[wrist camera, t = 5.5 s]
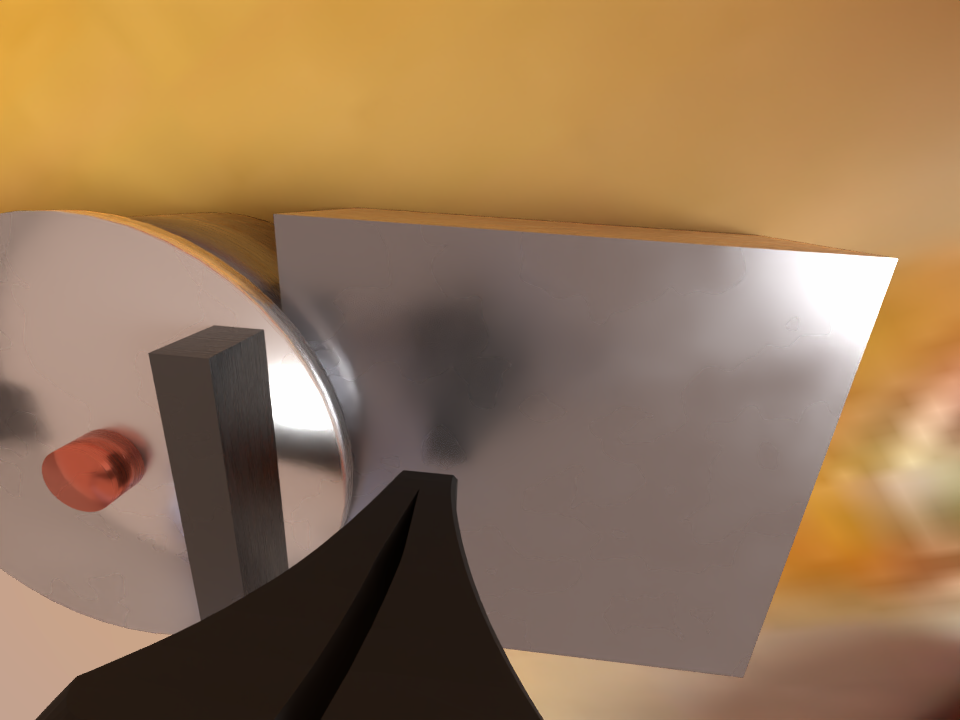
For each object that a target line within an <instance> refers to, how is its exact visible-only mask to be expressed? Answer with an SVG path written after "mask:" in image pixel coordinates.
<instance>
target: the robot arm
mask: <svg viewBox="0 0 960 720" xmlns="http://www.w3.org/2000/svg"><path fill="white" fill-rule="evenodd" d="M457 487H458V479H457V478H456V477H455V476H454V475H449V474H439V473H428V472H418V471H408V470H403V471H402V472H401V473H399V474H398V475H397V476H396V477H395V478H394V479H393V480H392V481H391V482H390V483H389V484H388V485H387V486H386V487H385V488H384V489H383V490H382V491H381V492H380V493H379V494H378V495H377V496H376V497H375V498H374V499H373V500H372V501H371V502H370V503H369V504H368V505H367V506H366V507H365V508H363V509H362V510H361V511H360V512H359V513H358V514H357V515H356V516H355V517H354V518H353V519H351V520H350V521H349V522H348V523H347V524H346V525H345V526H344V527H342V528H341V529H340V530H339V531H337V532H336V533H335V534H334V535H333V536H331V537H330V538H329V539H328V540H327V541H325V542H324V543H323V544H322V545H321V546H319V547H318V548H317V549H315V550H314V551H313V552H311V553H310V554H309V555H307V556H306V557H305V558H303V559H302V560H301V561H299V562H298V563H297V564H295V565H294V566H292V567H291V568H289V569H288V570H286V571H285V572H284V573H282V574H281V575H279V576H277V577H276V578H274V579H273V580H271V581H269V582H268V583H266V584H264V585H263V586H261V587H259V588H258V589H256V590H254V591H253V592H251V593H249V594H248V595H246V596H244V597H243V598H241V599H239V600H238V601H236V602H234V603H233V604H231V605H229V606H227V607H226V608H224V609H222V610H220V611H218V612H216V613H214V614H212V615H211V616H209V617H207V618H205V619H203V620H201V621H199V622H197V623H195V624H193V625H191V626H189V627H187V628H185V629H183V630H181V631H179V632H177V633H175V634H173V635H171V636H169V637H167V638H165V639H163V640H160V641H158V642H156V643H154V644H152V645H150V646H147V647H145V648H143V649H140V650H138V651H136V652H133V653H131V654H129V655H126V656H124V657H122V658H120V659H117V660H115V661H113V662H110V663H108V664H106V665H104V666H101V667H99V668H96V669H94V670H92V671H89V672H87V673H84V674H82V675H79V676H77V677H76V678H75V679H74V680H73V681H72V682H71V683H70V684H69V685H68V686H67V687H66V688H65V689H64V690H63V691H62V692H61V693H60V694H59V695H58V696H57V697H56V698H55V700H53V701H52V702H51V704H50V705H49V706H48V707H47V708H46V709H45V710H44V711H43V712H42V713H41V714H40V715H39V717H38V718H37V719H36V720H544V719H543V718H542V716H541V715H540V713H539V712H538V710H537V708H536V707H535V705H534V703H533V702H532V700H531V699H530V697H529V695H528V694H527V692H526V690H525V689H524V687H523V685H522V683H521V681H520V680H519V678H518V676H517V674H516V673H515V671H514V669H513V667H512V665H511V664H510V662H509V660H508V658H507V656H506V654H505V652H504V650H503V647H502V645H501V643H500V641H499V639H498V637H497V635H496V633H495V631H494V629H493V627H492V625H491V623H490V621H489V618H488V616H487V614H486V611H485V609H484V606H483V604H482V602H481V599H480V596H479V594H478V591H477V588H476V586H475V583H474V580H473V577H472V574H471V571H470V568H469V564H468V561H467V557H466V554H465V550H464V546H463V542H462V538H461V533H460V528H459V523H458V517H457Z"/></svg>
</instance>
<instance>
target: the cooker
mask: <svg viewBox="0 0 960 720" xmlns="http://www.w3.org/2000/svg"><path fill="white" fill-rule="evenodd" d="M273 215H274V224H272V223H270V222H267V221H264V220H260V219H257V218H253V217H250V216H246V215H239V214H232V213H189V214H170V215H151V216H133V217H126V218H130V219H133V220H137V221H140V222H144V223H148V224H151V225H153V226H156V227H158V228H161V229H163V230H165V231H168V232H170V233H173V234H175V235H177V236H180V237H182V238H185V239H186V240H188V241H190V242H192V243H194V244H195V245H197V246H199V247H201V248H203V249H204V250H206V251H208V252H210V253H211V254H213V255H215V256H217V257H218V258H220V259H221V260H222V261H224V262H225V263H227V264H228V265H229V266H231V267H232V268H234V269H235V270H236V271H238V272H239V273H241V274H242V275H243V276H245V277H246V278H247V279H248V280H250V281H251V282H252V283H253V284H254V285H255V286H256V287H257V288H259V289H260V290H261V291H262V292H263V293H264V294H265V295H266V296H267V297H269V298H270V299H271V300H272V301H273V302H274V303H275V304H276V305H277V306H278V307H279V309H280V310H281V311H282V312H283V313H284V314H285V315H286V316H287V317H288V319H289V320H290V321H291V322H292V323H293V324H294V325H295V326H296V328H297V329H298V330H299V332H300V333H301V334H302V336H303V337H304V339H305V340H306V341H307V343H308V344H309V346H310V347H311V348H312V350H313V351H314V353H315V354H316V355H317V357H318V359H319V361H320V363H321V364H322V366H323V368H324V370H325V372H326V373H327V375H328V377H329V379H330V381H331V383H332V384H333V387H334V389H335V392H336V394H337V397H338V399H339V402H340V404H341V407H342V409H343V412H344V416H345V420H346V423H347V427H348V431H349V435H350V439H351V447H352V456H353V465H354V472H353V493H352V498H351V503H350V508H349V513H348V516H347V519H346V522H345V524H344V526H345V525H346V524H347V523H348V522H349V521H350V520H351V519H353V518H354V517H355V516H356V515H357V514H358V513H359V512H360V511H361V510H362V509H363V508H365V507H366V506H367V505H368V504H369V503H370V502H371V501H372V500H373V499H374V498H375V497H376V496H377V495H378V494H379V493H380V492H381V491H382V490H383V489H384V488H385V487H386V486H387V485H388V484H389V483H390V482H391V481H392V480H393V479H394V478H395V477H396V476H397V475H398V474H399V473H401V472H402V471H403V470H408V471H418V472H428V473H439V474H449V475H454V476H455V477H456V478H457V479H458V487H457V517H458V523H459V528H460V533H461V538H462V542H463V546H464V550H465V554H466V557H467V561H468V564H469V568H470V571H471V574H472V577H473V580H474V583H475V586H476V588H477V591H478V594H479V596H480V599H481V602H482V604H483V606H484V609H485V611H486V614H487V616H488V618H489V621H490V623H491V625H492V627H493V629H494V631H495V633H496V635H497V637H498V639H499V641H500V643H501V645H502V647H503V648H506V649H514V650H523V651H531V652H539V653H547V654H555V655H563V656H571V657H579V658H587V659H596V660H604V661H612V662H620V663H628V664H636V665H644V666H652V667H660V668H669V669H677V670H685V671H693V672H701V673H709V674H717V675H725V676H733V677H742V678H743V676H744V674H745V671H746V668H747V666H748V663H749V660H750V657H751V655H752V652H753V649H754V647H755V644H756V641H757V639H758V636H759V633H760V630H761V628H762V625H763V622H764V620H765V617H766V614H767V612H768V609H769V606H770V603H771V601H772V598H773V595H774V593H775V590H776V587H777V585H778V582H779V579H780V576H781V574H782V571H783V568H784V566H785V563H786V560H787V558H788V555H789V552H790V549H791V547H792V544H793V541H794V539H795V536H796V533H797V531H798V528H799V525H800V522H801V520H802V517H803V514H804V512H805V509H806V506H807V504H808V501H809V498H810V495H811V493H812V490H813V487H814V485H815V482H816V479H817V477H818V474H819V471H820V468H821V466H822V463H823V460H824V458H825V455H826V452H827V450H828V447H829V444H830V441H831V439H832V436H833V433H834V431H835V428H836V425H837V423H838V420H839V417H840V415H841V412H842V409H843V406H844V404H845V401H846V398H847V396H848V393H849V390H850V388H851V385H852V382H853V379H854V377H855V374H856V371H857V369H858V366H859V363H860V361H861V358H862V355H863V352H864V350H865V347H866V344H867V342H868V339H869V336H870V334H871V331H872V328H873V325H874V323H875V320H876V317H877V315H878V312H879V309H880V307H881V304H882V301H883V298H884V296H885V293H886V290H887V288H888V285H889V282H890V280H891V277H892V274H893V271H894V269H895V266H896V263H897V261H898V258H893V257H887V256H881V255H875V254H869V253H863V252H857V251H851V250H845V249H839V248H832V247H826V246H820V245H814V244H808V243H802V242H796V241H790V240H784V239H778V238H772V237H766V236H758V235H744V234H730V233H715V232H701V231H687V230H672V229H658V228H644V227H629V226H615V225H601V224H586V223H572V222H558V221H543V220H529V219H515V218H500V217H486V216H472V215H457V214H443V213H429V212H414V211H400V210H385V209H371V208H346V209H333V210H319V211H306V212H292V213H278V214H273Z"/></svg>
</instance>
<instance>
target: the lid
mask: <svg viewBox="0 0 960 720" xmlns="http://www.w3.org/2000/svg"><path fill="white" fill-rule="evenodd" d="M353 472H354V465H353V456H352V447H351V439H350V435H349V431H348V427H347V423H346V420H345V416H344V412H343V409H342V407H341V404H340V402H339V399H338V397H337V394H336V392H335V389H334V387H333V384H332V383H331V381H330V379H329V377H328V375H327V373H326V372H325V370H324V368H323V366H322V364H321V363H320V361H319V359H318V357H317V355H316V354H315V353H314V351H313V350H312V348H311V347H310V346H309V344H308V343H307V341H306V340H305V339H304V337H303V336H302V334H301V333H300V332H299V330H298V329H297V328H296V326H295V325H294V324H293V323H292V322H291V321H290V320H289V319H288V317H287V316H286V315H285V314H284V313H283V312H282V311H281V310H280V309H279V307H278V306H277V305H276V304H275V303H274V302H273V301H272V300H271V299H270V298H269V297H267V296H266V295H265V294H264V293H263V292H262V291H261V290H260V289H259V288H257V287H256V286H255V285H254V284H253V283H252V282H251V281H250V280H248V279H247V278H246V277H245V276H243V275H242V274H241V273H239V272H238V271H236V270H235V269H234V268H232V267H231V266H229V265H228V264H227V263H225V262H224V261H222V260H221V259H220V258H218V257H217V256H215V255H213V254H211V253H210V252H208V251H206V250H204V249H203V248H201V247H199V246H197V245H195V244H194V243H192V242H190V241H188V240H186V239H185V238H182V237H180V236H177V235H175V234H173V233H170V232H168V231H165V230H163V229H161V228H158V227H156V226H153V225H151V224H148V223H144V222H140V221H137V220H133V219H130V218H126V217H123V216H119V215H114V214H107V213H100V212H93V211H86V210H37V211H14V212H7V213H1V214H0V568H1V569H2V570H3V571H5V572H6V573H8V574H9V575H11V576H12V577H14V578H15V579H17V580H18V581H20V582H21V583H23V584H24V585H26V586H27V587H29V588H31V589H32V590H34V591H36V592H38V593H40V594H41V595H43V596H45V597H47V598H48V599H50V600H52V601H54V602H56V603H58V604H61V605H63V606H65V607H67V608H69V609H71V610H74V611H76V612H78V613H81V614H84V615H86V616H89V617H92V618H94V619H98V620H100V621H103V622H106V623H110V624H113V625H117V626H121V627H125V628H128V629H134V630H139V631H145V632H151V633H159V634H172V635H173V634H175V633H177V632H179V631H181V630H183V629H185V628H187V627H189V626H191V625H193V624H195V623H197V622H199V621H201V620H203V619H205V618H207V617H209V616H211V615H212V614H214V613H216V612H218V611H220V610H222V609H224V608H226V607H227V606H229V605H231V604H233V603H234V602H236V601H238V600H239V599H241V598H243V597H244V596H246V595H248V594H249V593H251V592H253V591H254V590H256V589H258V588H259V587H261V586H263V585H264V584H266V583H268V582H269V581H271V580H273V579H274V578H276V577H277V576H279V575H281V574H282V573H284V572H285V571H286V570H288V569H289V568H291V567H292V566H294V565H295V564H297V563H298V562H299V561H301V560H302V559H303V558H305V557H306V556H307V555H309V554H310V553H311V552H313V551H314V550H315V549H317V548H318V547H319V546H321V545H322V544H323V543H324V542H325V541H327V540H328V539H329V538H330V537H331V536H333V535H334V534H335V533H336V532H337V531H339V530H340V529H341V528H342V527H344V524H345V522H346V519H347V516H348V513H349V508H350V503H351V498H352V493H353Z"/></svg>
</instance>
